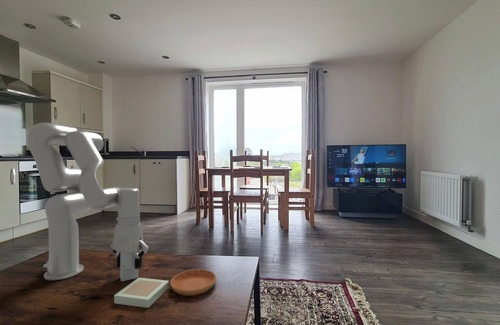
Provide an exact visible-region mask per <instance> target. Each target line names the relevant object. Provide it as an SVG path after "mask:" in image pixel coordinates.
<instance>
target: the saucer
mask: <svg viewBox="0 0 500 325" xmlns="http://www.w3.org/2000/svg"><path fill="white" fill-rule="evenodd" d="M216 282H217V275H216V274H215V272H213V271H211V270H209V269H203V268H199V269H198V268H197V269H195V268H194V269H189V270H185V271H182V272H179V273H177V274H176V275H173V277H172V278H171V280H170V281H169V286H170V288H171V290H173V291H174V292H175V293H177V294H178V295H180V296H183V297H184V296H186V297H193V296H199V295H202V294H204V293H206V292H208V291H210V290H211V288H213V286H215V284H216Z"/></svg>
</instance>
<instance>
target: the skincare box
mask: <svg viewBox="0 0 500 325" xmlns="http://www.w3.org/2000/svg"><path fill="white" fill-rule="evenodd" d="M138 254H139V251H138ZM135 258H136V256H135V254H134V253H131V252H124V249H121V252H120V267H119V278H120V281H121V282H125V281H130V280H134V279H135V280H136V279H138V278H139V268H138V269H135Z"/></svg>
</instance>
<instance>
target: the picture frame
mask: <svg viewBox="0 0 500 325" xmlns="http://www.w3.org/2000/svg"><path fill="white" fill-rule="evenodd" d="M169 289H170V281H169V280H166V279H165V280H164V279H155V278H146V277H138V278H135V280H133V281H132V282H131V283H129V284H128V285H126V286H125V287H124V288H123V289H120V291H118V292H117V293H116V294H114V295H113V300H114V302H113V304H116V305H122V306H123V305H124V306H125V305H126V306H133V307H140V308H146V309H147V308H148V309H149V308H150V307H151V306H152V305H153V304H154V303H155V302H157V300H158V299H159V298H161V296H162V295H163V294H164V293H165V292H167V291H168V290H169Z"/></svg>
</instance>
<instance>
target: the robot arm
mask: <svg viewBox="0 0 500 325" xmlns="http://www.w3.org/2000/svg"><path fill="white" fill-rule="evenodd" d="M26 143H27V147H28V149H29V151H30V154H31V155H32V157H33V159H34V161H35V165H36V168H37V170H38V173H39V176H40V181H41V184H42V186H43V188H44V189H45V191H47V192H50V193H58V192H59V193H60V192H65V191H67V192H65V193H61V194H57V195H53V196H51V197H50V198H48V199H47V201H46V203H45V205H44V212H45V216H46V219H47V220H46V221H47V225H48V226H47V227H48V260H47V261H46V263H44V264H43V265H42V267H43V268H47V271H46V272H45V273H44V274H43V278H44V279H45V280H46V281H58V280H64V279H68V278H71V277H73V276H76V275H78V274H80V273H82V272H83V271H84V268H85V267H84V265H83V264H80V252H79V251H80V250H79V248H80V246H79V245H80V244H79V243H80V242H79V240H80V239H79V238H80V236H79V234H80V233H79V231H80V230H79V224H78V222H77V220H76V218H75V217H74V216H77V215H81V214H85V213H88V212H89V211H90V210H91V209H93V210H95V211H96V210H98V211H101V210H106V209H109V208H114V207H117V216H116V218H115V220H116V221H117V224H116V225H115V229H114V234H113V242H112V243H111V244H110V245H109V246H110V249H111V250H112V252H113V253H114V256H115V258H116V267H117V268H120V252H121V249H124V252H131V253H134V254H135V256H136V258H135V269H138V270H139V268H140V267H142V265H143V256H144V255H145V254H146V253H147V251H148V250H149V249H150V247H149V246H148V245H147V244H146V242H145V241H144V231H143V225H142V223H141V212H140V211H141V209H140V208H141V207H140V206H141V205H140V203H141V202H140V201H141V199H140V198H141V196H140V194H141V193H140V190H139V188H135V187H122V186H121V187H120V186H114V187H113V186H111V187H106V188H104V187H103V188H102V187H101V186H100V184H99V183H100V182H98V180H97V171H98V170H100V169H101V168H103V166H104V165H105V160H104V159H103V157H102V155H101V154H100V151H102V150H103V147H104V140H103V137H102V136H101V135H100V134H98V133H97V132H94V131H89V130H86V129H82V128H79V127H76V126H71V125H63V124H59V123H53V122H52V123H51V122H40V123H36V124H34V125H33V126H32V127H30V129H29V130H28V132H27V136H26ZM54 146H62V147H63V146H64V147H67V149H68V150H69V152H70V154H71V157H72V158H73V160H74V161H75V163H76V164H77V167H67V166H66V165H65V162H64V158H63V156H62V155H61V153H60V152H59V151H58V150H57V149H56V148H55V147H54ZM138 251H139V254H138Z"/></svg>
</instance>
